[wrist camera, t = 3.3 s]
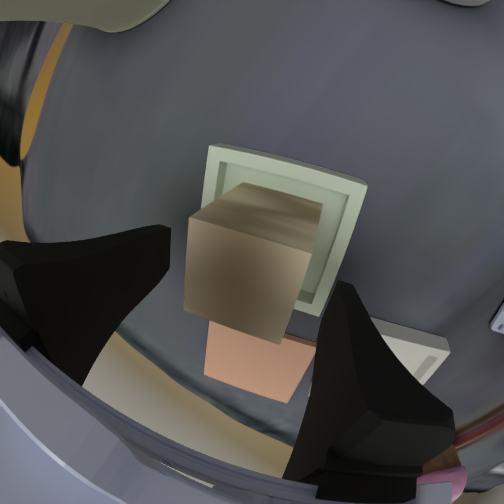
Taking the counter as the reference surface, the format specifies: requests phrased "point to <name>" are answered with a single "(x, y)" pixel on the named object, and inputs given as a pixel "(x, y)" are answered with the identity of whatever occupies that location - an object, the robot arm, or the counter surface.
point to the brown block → (249, 259)
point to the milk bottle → (468, 2)
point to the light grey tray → (414, 348)
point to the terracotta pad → (257, 361)
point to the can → (83, 12)
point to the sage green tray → (302, 185)
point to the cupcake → (445, 471)
